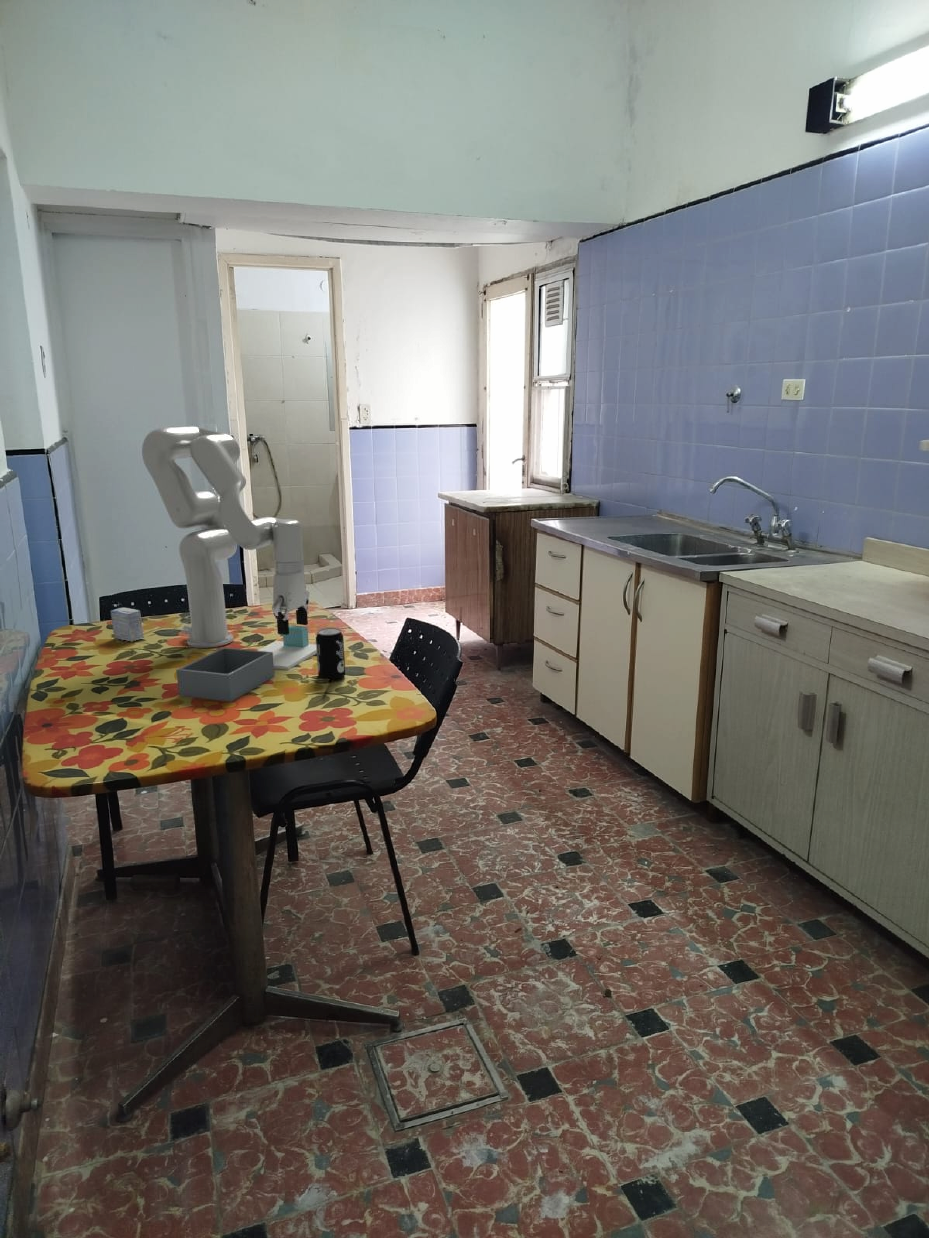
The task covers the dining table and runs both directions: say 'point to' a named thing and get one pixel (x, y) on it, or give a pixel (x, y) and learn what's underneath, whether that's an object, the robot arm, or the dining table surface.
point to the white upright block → (127, 624)
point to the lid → (291, 648)
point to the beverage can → (330, 654)
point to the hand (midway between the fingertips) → (293, 629)
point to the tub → (225, 674)
